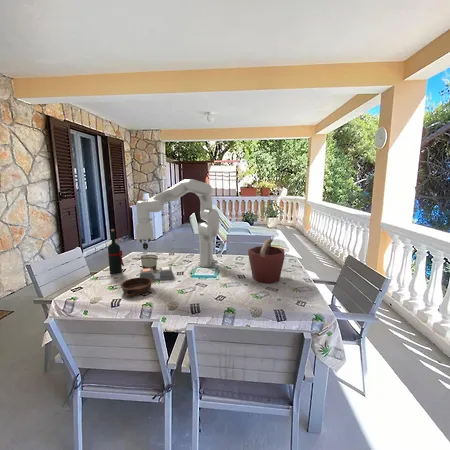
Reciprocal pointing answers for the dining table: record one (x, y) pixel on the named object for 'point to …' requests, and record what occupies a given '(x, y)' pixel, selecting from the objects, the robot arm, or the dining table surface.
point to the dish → (136, 286)
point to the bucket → (266, 262)
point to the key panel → (157, 274)
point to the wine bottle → (114, 256)
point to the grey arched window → (149, 261)
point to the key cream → (165, 268)
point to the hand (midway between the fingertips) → (145, 249)
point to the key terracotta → (146, 270)
